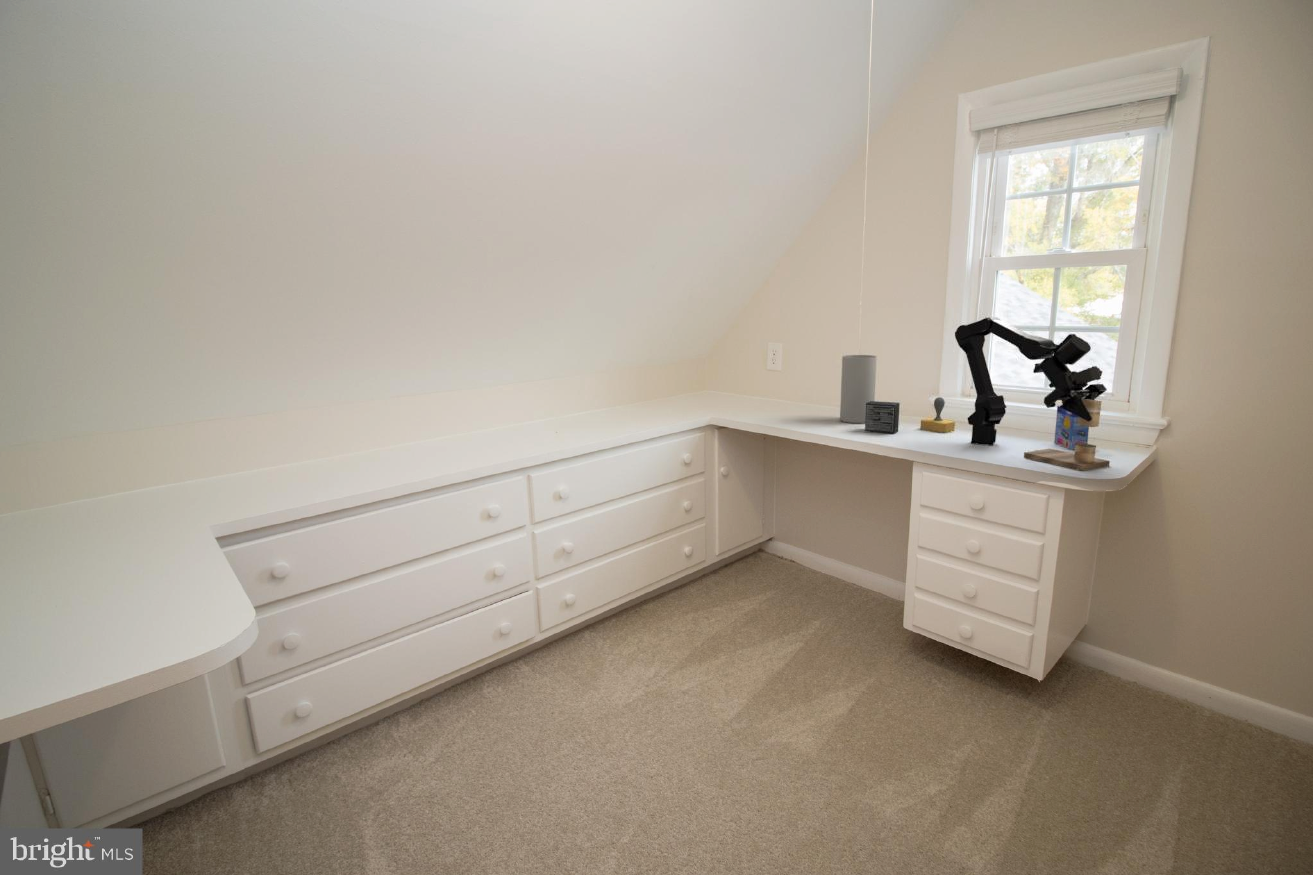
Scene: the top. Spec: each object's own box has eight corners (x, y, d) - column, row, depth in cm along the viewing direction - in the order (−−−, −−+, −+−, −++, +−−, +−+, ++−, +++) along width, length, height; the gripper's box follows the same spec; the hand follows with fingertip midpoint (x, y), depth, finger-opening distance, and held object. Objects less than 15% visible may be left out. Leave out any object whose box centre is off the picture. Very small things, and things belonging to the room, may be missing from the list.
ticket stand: (1023, 457, 190) (1025, 437, 189) (1049, 453, 194) (1051, 433, 193) (1082, 471, 174) (1085, 449, 173) (1109, 466, 179) (1111, 444, 177)
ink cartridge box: (1052, 442, 208) (1057, 398, 205) (1070, 442, 207) (1075, 398, 204) (1068, 449, 198) (1073, 403, 195) (1087, 449, 198) (1093, 402, 195)
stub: (1077, 424, 179) (1080, 399, 177) (1083, 424, 180) (1086, 399, 178) (1092, 427, 175) (1095, 401, 174) (1098, 426, 176) (1101, 401, 175)
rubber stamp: (954, 431, 229) (957, 397, 226) (945, 433, 225) (947, 399, 223) (929, 427, 237) (931, 394, 234) (919, 429, 233) (921, 396, 231)
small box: (899, 431, 231) (900, 402, 229) (894, 434, 226) (896, 404, 224) (868, 428, 237) (870, 400, 235) (864, 431, 232) (865, 402, 229)
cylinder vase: (857, 416, 260) (859, 354, 254) (880, 421, 249) (883, 356, 243) (833, 420, 254) (835, 356, 249) (855, 425, 243) (858, 358, 238)
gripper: (1058, 358, 173) (1095, 405, 166) (1104, 354, 181) (1140, 399, 173) (1028, 384, 182) (1062, 429, 175) (1073, 379, 189) (1106, 423, 182)
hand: (1093, 419), depth 176 cm, fingers closed on stub, 2 cm apart
